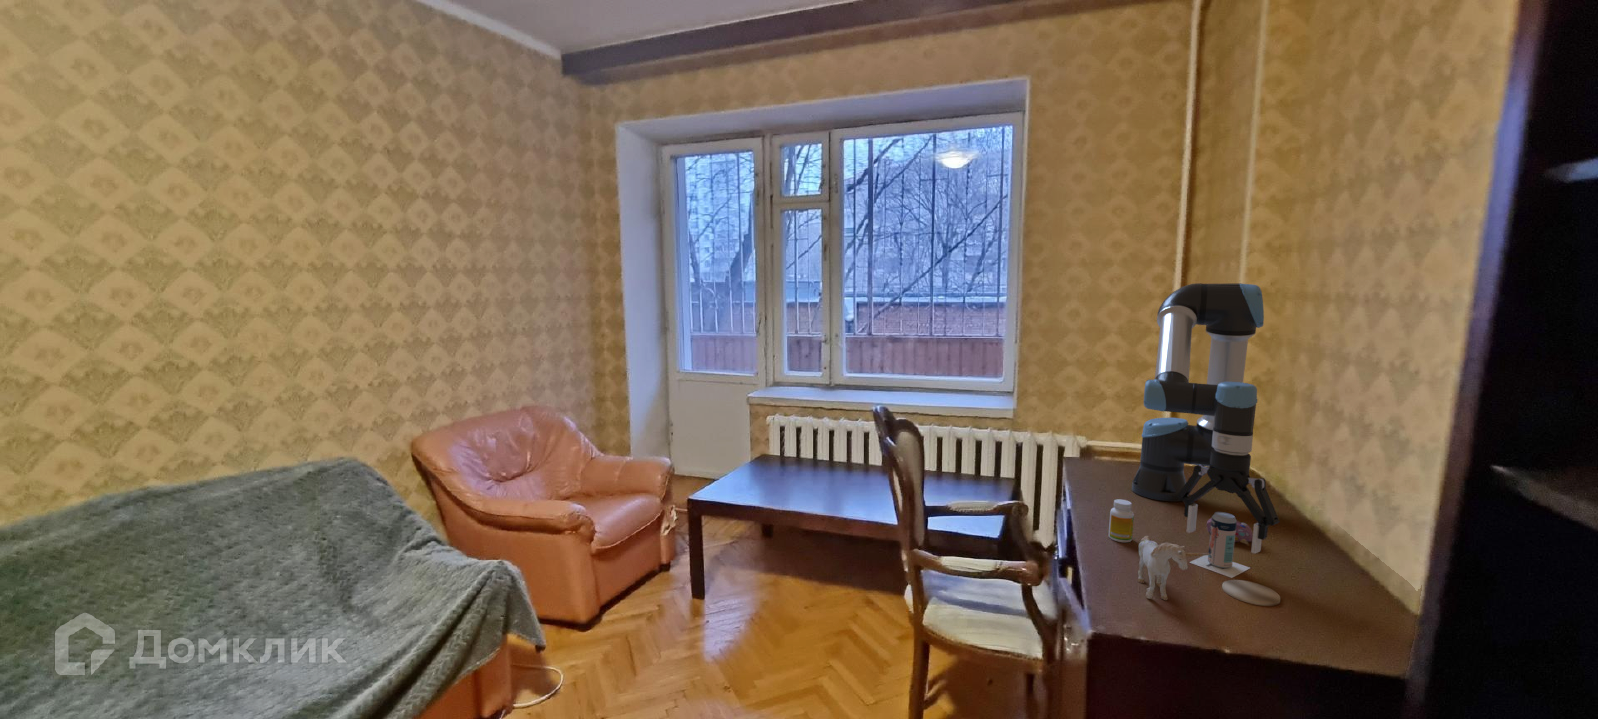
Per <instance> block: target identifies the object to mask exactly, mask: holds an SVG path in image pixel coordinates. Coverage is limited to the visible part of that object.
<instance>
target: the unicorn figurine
mask: <svg viewBox="0 0 1598 719" xmlns="http://www.w3.org/2000/svg"><path fill="white" fill-rule="evenodd" d="M1185 548H1186V546H1185V545H1182V546H1180V545H1179V544H1176V543H1175V544H1174V543H1171V542H1164V543H1160V544H1159V543H1157V542H1156V541H1153V540H1151V539H1150V536H1149V535H1145V536H1143V537H1142V538H1141V539H1140V542H1139V543H1138V556H1139V563H1138V565H1139V570H1138V571H1137V575H1138V577H1137V582H1138V583H1141V584H1145V582H1146V581H1145V580H1146V579H1145V577H1144V567H1147V572H1148V573H1147V574H1148V579H1149V586H1148V588H1146V592H1145V598H1146V599H1148V600H1149V599H1152V597H1153V596H1154V590H1155V587H1156V586H1157V587H1159V592H1160V599H1162V600H1164V601H1168V598H1169V597H1168V595H1167V590H1166V584H1167V578H1168V577H1169V574H1170V572H1171V563H1170V562H1169V560H1170V559H1171V558H1172V560H1173V561H1174V562H1176V563H1177V564H1178V567H1179V569H1180V570H1182V571H1186V570H1188V561H1187V558H1189V557H1202V556H1204V555H1210V554H1209V553H1208V552H1187V551H1185ZM1155 580H1156V581H1155ZM1155 583H1156V584H1155Z"/></svg>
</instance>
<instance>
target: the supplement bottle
mask: <svg viewBox="0 0 1598 719" xmlns="http://www.w3.org/2000/svg"><path fill="white" fill-rule="evenodd" d="M1131 509H1132V502H1131V501H1129V500H1127V499H1119V498H1118V499H1114V500H1113V507H1112V508H1111V509H1110V512H1109V524H1108V537H1109V539H1110V540H1112V541H1115V542H1118V543H1130V542H1131V541H1132V540H1133V534H1134V532H1133V530H1134V518H1135V514H1134V511H1133V510H1131Z"/></svg>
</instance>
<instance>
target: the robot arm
mask: <svg viewBox="0 0 1598 719" xmlns="http://www.w3.org/2000/svg"><path fill="white" fill-rule="evenodd" d="M1264 309H1265V308H1264V298H1263V291H1262V289H1261V287H1260V286H1259V285H1257V284H1252V283H1251V284H1250V283H1241V282H1240V283H1236V282H1235V283H1229V282H1228V283H1201V282H1196V283H1190V284H1186V285H1184V286H1181V287H1180V288H1178V289H1176V290H1174V291H1173V292H1172V293H1170V294H1169V295H1168V296H1167V297H1166V298H1165V299H1164V300H1163V301H1162V302H1161V304H1160V306H1159V308H1158V309H1157V310H1158V311H1157V316H1156V322H1157V326H1158V327H1159V336H1158V345H1157V346H1158V347H1157V355H1156V364H1155V371H1154V372H1155V374H1154V379H1147V380H1146V381H1145V383H1144V393H1143V406H1144V407H1145V408H1146V409H1147V410H1152V411H1159V412H1169V413H1170V412H1171V413H1179V414H1180V413H1181V414H1190V415H1191V414H1192V415H1199V416H1200V415H1201V417H1198V418H1197V420H1196V425H1192V424H1189V422H1188V420H1187V419H1185V418H1178V417H1158V418H1157V417H1156V418H1151V419H1149V420H1147V421H1145V422H1144V424H1143V428H1142V433H1141V437H1142V438H1141V450H1140V451H1141V452H1140V459H1139V460H1140V461H1139V462H1140V464H1139V467H1138V469H1137V471H1136V474H1135V476H1134V478H1133V480H1132V483H1131V491H1132V492H1133V493H1134V494H1136V495H1139V496H1141V497H1144V498H1146V499H1151V500H1156V501H1163V502H1183V503H1184V511H1183V515H1184V518H1187V519H1186V520H1187V522H1186V533H1188V534H1190V533H1191V534H1192V533H1193V532H1196V529H1197V528H1196V527H1197V518H1198V507H1199V505H1198V504H1197V503H1196V501H1198V500H1199V499H1200V498H1202V497H1203V496H1205V495H1206V494H1208V493H1209V492H1210V491H1212V490H1213V489H1215V488H1216V489H1217V491H1222V492H1223V491H1225V492H1226V493H1230V494H1236V495H1237V497H1239V498H1240V499H1241V501H1242V502H1243V503H1244V505H1245V507H1246V508H1247V510H1249V512H1250V513H1251V515H1252V516H1253V517H1254V520H1256V523H1254V524H1253V529H1252V530H1253V531H1252V533H1253V539H1252V541H1251V548H1250V549H1251V550H1250V553H1251V554H1254V555H1255V554H1257V553H1259V552H1262V551H1261V550H1262V541H1263V540H1266V539H1267V537H1268V531H1269V526H1276V525H1277V524H1279V523H1280V519H1279V517H1278V514H1277V512H1276V509H1275V507H1274V505H1273V502H1272V500H1271V497H1270V495H1269V493H1268V491H1267V484H1266V483H1267V482H1266V478H1264V477H1260V478H1255V477H1251V476H1250V469H1251V459H1252V455H1251V454H1250V453H1251V452H1252V450H1253V438H1254V428H1255V427H1254V426H1255V425H1254V424H1255V416H1256V411H1257V410H1256V409H1257V403H1258V388H1257V386H1255V385H1254V384H1250V383H1247V382H1244V380H1245V378H1244V376H1245V370H1246V360H1247V352H1248V351H1247V350H1248V344H1249V339H1250V338H1252V337H1254V336H1255V335H1256V332H1257V329H1260V328H1263V326H1264V325H1265V323H1264V320H1265V314H1264V313H1265V311H1264ZM1196 325H1198V326H1205V332H1206V333H1207V335H1209V336H1210V338H1211V339H1210V347H1209V348H1210V349H1209V350H1210V351H1209V360H1208V368H1207V379H1206V383H1199V382H1198V383H1197V382H1190V369H1191V368H1190V366H1191V365H1190V364H1191V350H1192V348H1191V347H1192V333H1193V329H1194V327H1195V326H1196ZM1185 464H1186V465H1193V466H1194V467H1193V471H1192V474H1191V475H1190V477H1189V478H1188V479H1186V476H1185V473H1184V470H1185ZM1206 474H1207V476H1208V478H1209V479H1210V480H1209V481H1208V482H1207V483H1205V484H1204V485H1203V486H1201V487H1200V488H1198V490H1196V491H1195V492H1193V494H1191V492H1192V491H1193V489H1194V488H1195V487H1196V485H1197V484H1198V483H1199V481H1200V480H1201V479H1202V477H1203V476H1204V475H1206ZM1249 484H1250V485H1251V487H1252V488H1253V489H1254V492H1255V495H1256V497H1257V499H1258V502H1259V504H1258V502H1257V501H1256V500H1255V498H1254V496H1252V494H1251V491H1250V489H1249V488H1248V485H1249ZM1189 494H1191V495H1189Z"/></svg>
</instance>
